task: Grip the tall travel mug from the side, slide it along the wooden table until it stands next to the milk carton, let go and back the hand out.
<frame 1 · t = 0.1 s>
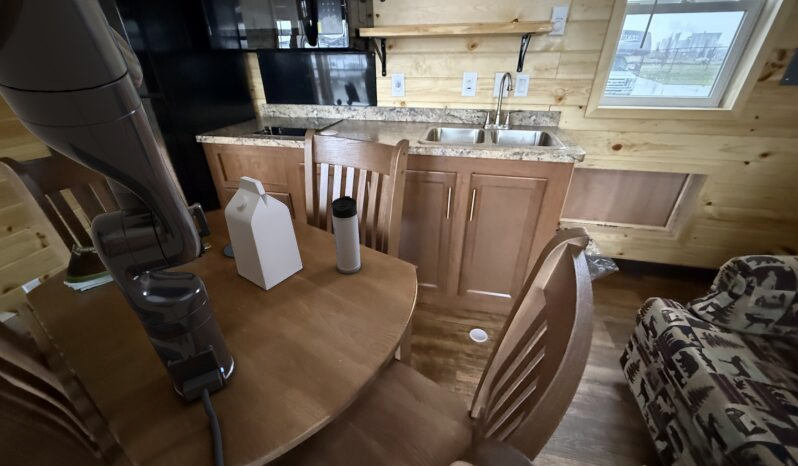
hand: (174, 261, 59), 17 cm above the table, tool pointing down, fingers open, 8 cm apart
milk: (271, 271, 85), on the table
coaster: (242, 248, 95), on the table
travel mug: (349, 267, 87), on the table
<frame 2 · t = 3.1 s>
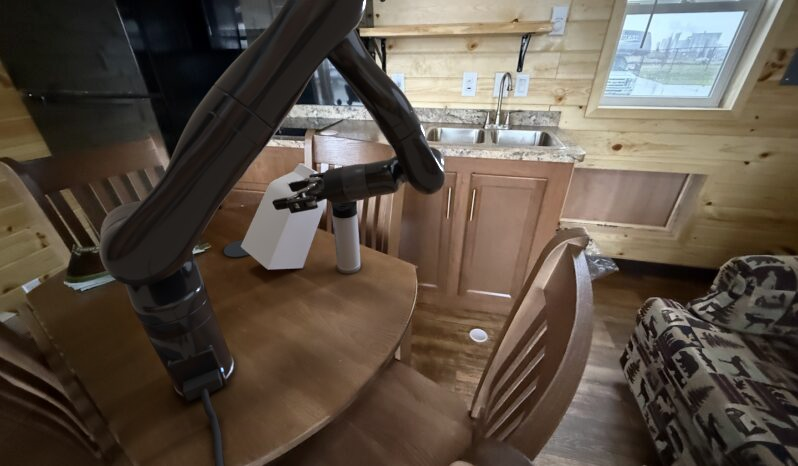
hand: (282, 195, 70), 24 cm above the table, tool horizontal, fingers open, 8 cm apart
milk: (272, 258, 84), point 4 cm above the table
everything else where it was.
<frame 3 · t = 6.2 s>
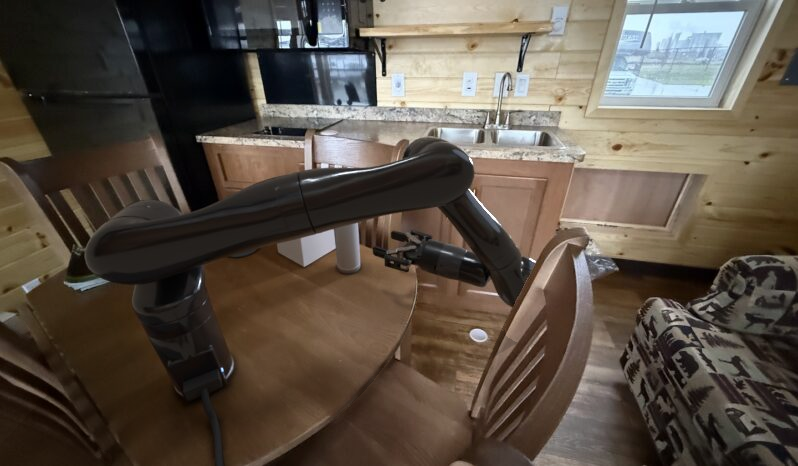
hand: (382, 241, 77), 11 cm above the table, tool horizontal, fingers open, 8 cm apart
milk: (287, 242, 87), point 6 cm above the table
everything else where it was.
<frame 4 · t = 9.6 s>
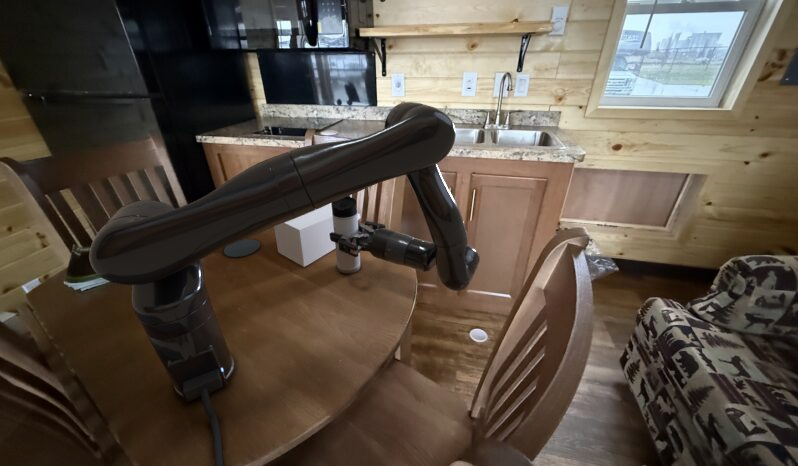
hand: (339, 230, 83), 11 cm above the table, tool horizontal, fingers closed on travel mug, 6 cm apart
travel mug: (349, 267, 87), on the table, touching gripper
everything else where it was.
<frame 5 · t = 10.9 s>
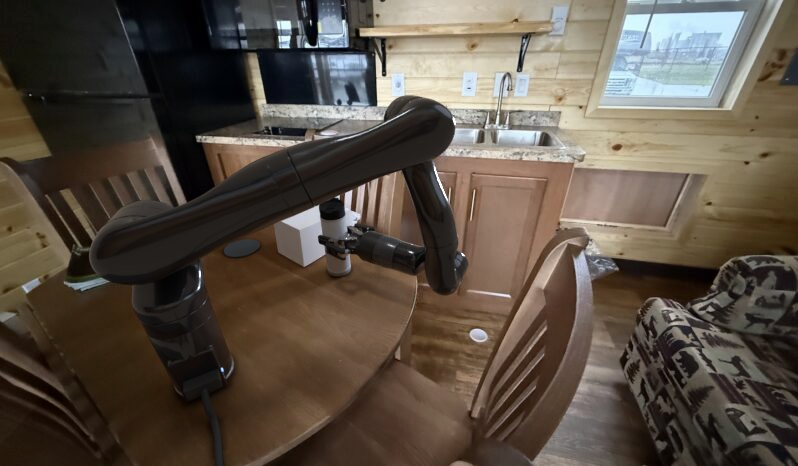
hand: (328, 232, 81), 11 cm above the table, tool horizontal, fingers closed on travel mug, 6 cm apart
travel mug: (339, 270, 86), on the table, touching gripper
everything else where it was.
when the fingers open (11 cm above the table, at t = 12.6 s): travel mug stays where it is, on the table.
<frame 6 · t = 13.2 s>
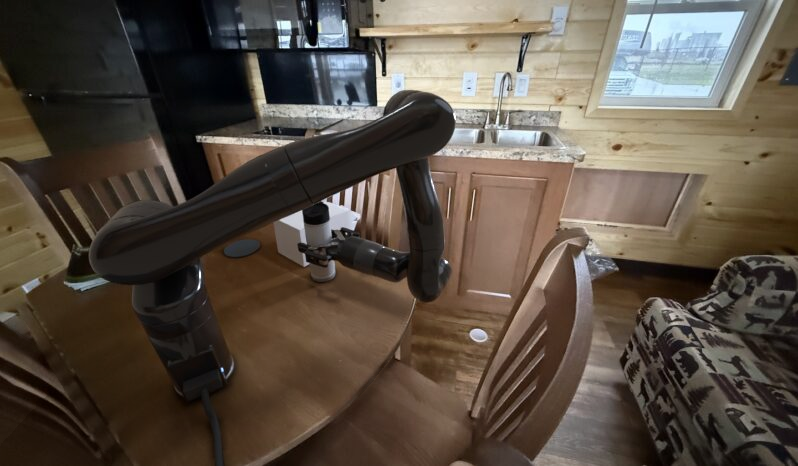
hand: (311, 238, 79), 11 cm above the table, tool horizontal, fingers open, 8 cm apart
travel mug: (323, 275, 84), on the table
everything else where it was.
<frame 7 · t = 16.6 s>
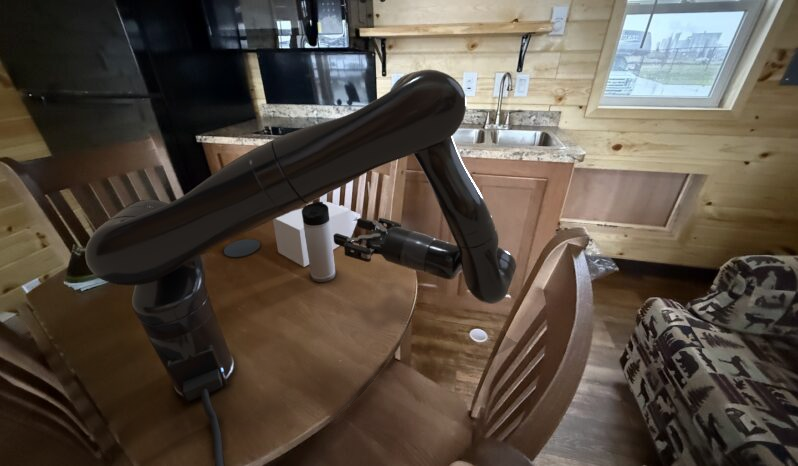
hand: (346, 229, 70), 17 cm above the table, tool horizontal, fingers open, 8 cm apart
nothing on the table moved.
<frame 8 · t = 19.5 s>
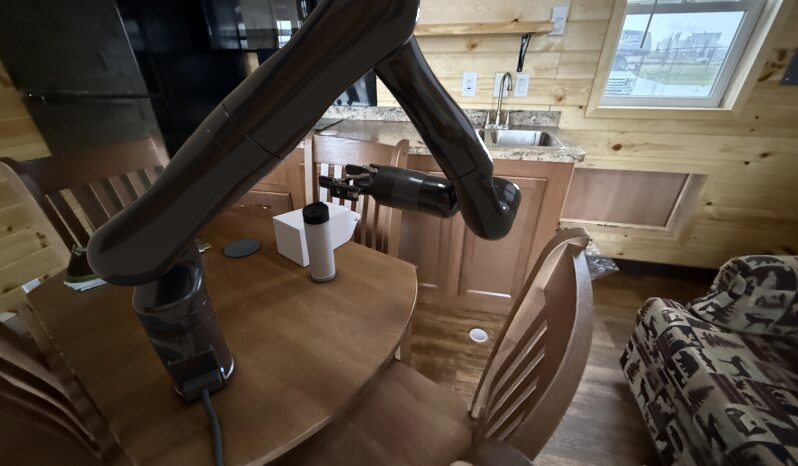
hand: (333, 174, 64), 30 cm above the table, tool horizontal, fingers open, 8 cm apart
nothing on the table moved.
at the end: travel mug 13.0 cm from the milk (horizontally); travel mug moved 7.3 cm from its start; travel mug tilted 1° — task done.
